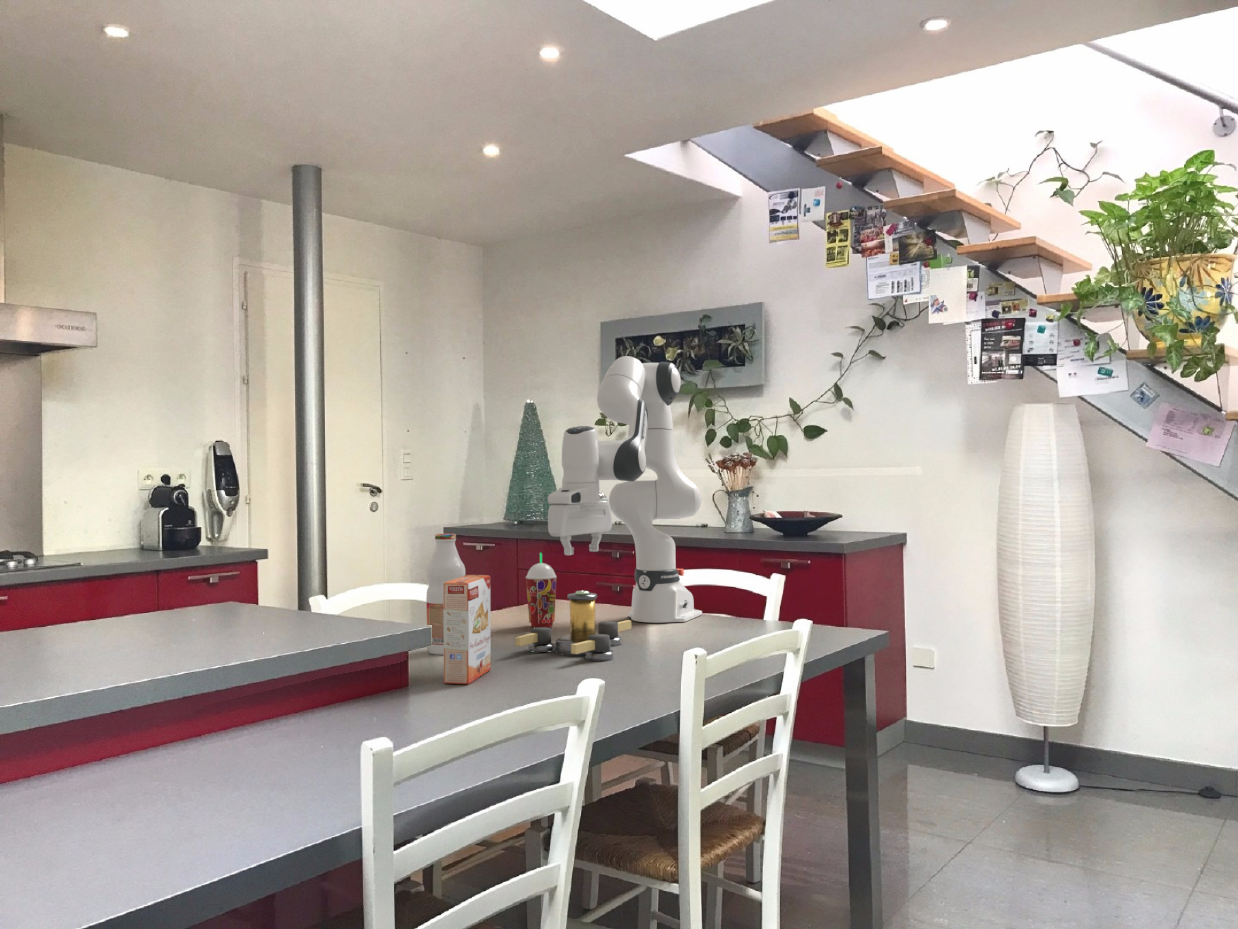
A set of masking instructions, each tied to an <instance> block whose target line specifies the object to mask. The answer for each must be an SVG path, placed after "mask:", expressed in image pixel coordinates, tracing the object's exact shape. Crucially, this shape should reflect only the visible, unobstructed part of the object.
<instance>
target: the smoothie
mask: <svg viewBox="0 0 1238 929" xmlns="http://www.w3.org/2000/svg"><path fill="white" fill-rule="evenodd" d="M555 572H556V571H555V570H554V569H553V568H552V566H551V565H549V564H547V563H544V562H543V553H542V552H539V562H537V563H535V564H534V565H532V566H531V567H530V568H529V569H528V572H527V573H526V574H527V575H525V583H526V597H527V598H526V599H527V610H528V611H527V612H528V623H530V625H531V626H532V627H531V628H533V627H535V628H538V627H549V628H552V627H553V625H554V624H553V623H554V622H555V620H556V619H555V617H556V616H555V615H556V614H555V613H556V598H557V597H556V594H557V592H556V591H557V575H556V573H555Z"/></svg>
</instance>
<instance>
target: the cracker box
mask: <svg viewBox="0 0 1238 929" xmlns="http://www.w3.org/2000/svg"><path fill="white" fill-rule="evenodd" d="M491 580H492V578H491V576H490V575H489V574H488V575H487V574H465V576H463V577H460V578H457V579H453V580H450V581H447V582H444V583H443V628H444V655H443V684H452V685H470V684H471V683H473V682H474V681H476V680H478V679H479V678H480V676H481V677H482V676H484V675H485V674H487V673H488V671H489V672H490V671H491V668H492V666H491V664H492V663H491V652H492V651H491V648H492V646H491V644H492V643H491ZM486 672H487V673H486ZM483 674H484V675H483Z"/></svg>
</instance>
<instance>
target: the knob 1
mask: <svg viewBox="0 0 1238 929" xmlns="http://www.w3.org/2000/svg"><path fill="white" fill-rule="evenodd" d="M514 640H515V641H514V642H515V643H514V644H515V645H514V646H515V647H524V646H528V644H531V643H532V644H549V643H551V642H552V627H549V628H548V627H538V628H533V627H531V629H530V633H526V634H523V635H519V636H516V637H515V639H514Z"/></svg>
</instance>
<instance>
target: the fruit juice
mask: <svg viewBox="0 0 1238 929" xmlns="http://www.w3.org/2000/svg"><path fill="white" fill-rule="evenodd" d="M434 539H435V540H434V541H435V543H436V545H435V548H434V552H433V555H432V558H431V560H430V562H429V563H428V565H427V568H426V577H427V580H428V587H427V589H426V596H425V598H426V600H425V601H426V626H427V625H432V645H431V646H430V647H426V648H427V649H426V650H427V652H428V653H429V654H431V655H438V656H439V655H441V656H444V628H443V583H444V582H447V581H450V580H453V579H457V578H460V577H463V576H466V567H465V564H464V562H463V561H462V559H461V558H460V555H459V551H458V549H457V546H456V540H457V534H456V533H435V535H434Z"/></svg>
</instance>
